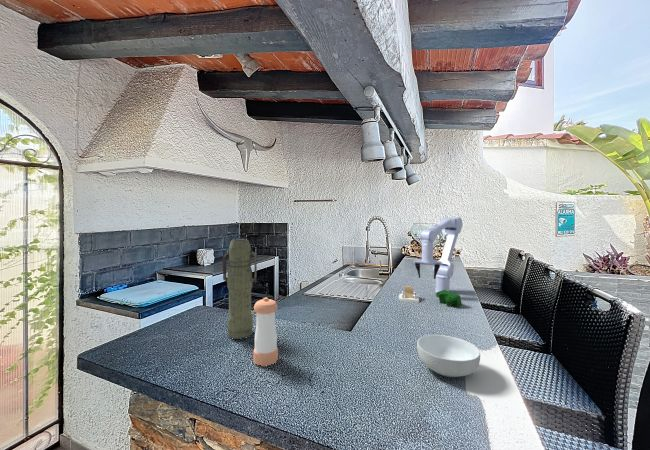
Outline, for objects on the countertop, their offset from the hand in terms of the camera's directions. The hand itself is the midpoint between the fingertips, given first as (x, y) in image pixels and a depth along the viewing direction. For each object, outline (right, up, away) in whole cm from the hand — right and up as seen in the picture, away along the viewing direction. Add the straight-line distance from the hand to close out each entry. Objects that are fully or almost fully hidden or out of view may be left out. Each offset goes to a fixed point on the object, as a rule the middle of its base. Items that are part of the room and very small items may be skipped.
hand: (426, 278), depth 158 cm
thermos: (-85, -12, -50) cm, 100 cm away
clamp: (+6, -11, -11) cm, 17 cm away
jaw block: (-10, -9, -3) cm, 14 cm away
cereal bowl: (-19, -14, -73) cm, 77 cm away
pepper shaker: (-72, -13, -68) cm, 100 cm away
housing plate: (-10, -10, -3) cm, 15 cm away
